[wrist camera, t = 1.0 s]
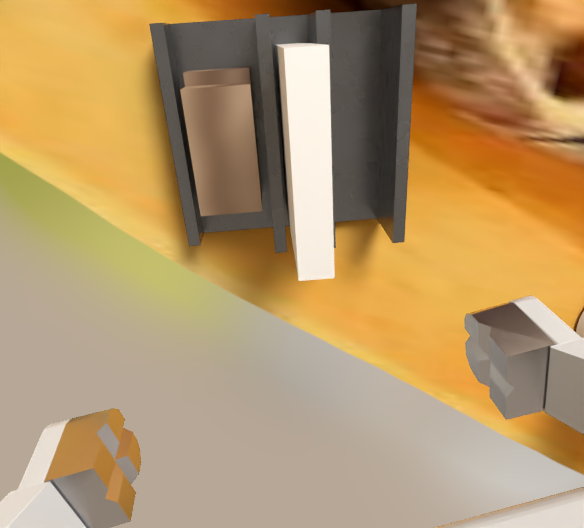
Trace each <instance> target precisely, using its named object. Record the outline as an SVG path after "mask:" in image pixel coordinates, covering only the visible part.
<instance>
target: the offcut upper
mask: <svg viewBox="0 0 584 528" xmlns="http://www.w3.org/2000/svg"><path fill="white" fill-rule="evenodd" d="M180 91H181V98H182V104H183V110H184V116H185V122H186V128H187V135H188V141H189V147H190V153H191V159H192V166H193V172H194V178H195V184H196V190H197V196H198V203H199V209H200V215H201V216H210V215H222V214H235V213H247V212H259V211H262V194H261V184H260V173H259V163H258V153H257V142H256V132H255V121H254V111H253V101H252V90H251V82H242V83H228V84H214V85H201V86H187V87H184V88H182V89H181V90H180Z"/></svg>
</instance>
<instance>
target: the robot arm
mask: <svg viewBox="0 0 584 528" xmlns="http://www.w3.org/2000/svg"><path fill="white" fill-rule="evenodd" d="M465 329H466V330H467V332H468V333H469V334H470V337H469V338H468V340H467V341H466V343H465V345H466V355H467V358H468V362H469V365H470V367H471V369H472V371H473V373H474V375H475V376H476V378H477V379H478V381H479V382H480V383H482V384H484V385H486V386H489V387H490V398H491V399H492V401H493V402H494V403H495V405H496V406H497V408H498V409H499V410H500V412H501V413H502V415H503V416H504V417H505V419H506V420H507V419H511V418H515V417H519V416H523V415H527V414H532V413H536V412H540V411H544V410H545V413H547V414H549V415H550V416H552V417H554V418H556V419H557V420H559V421H561V422H563V423H565V424H566V425H568V426H570V427H572V428H573V429H575V430H577V431H579V432H580V433H582V434H584V311H583V313H582V315H581V317H580V319H579V322H578V325H577V329H576V332H575V331H573V330H572V329H571V328H570V327H569V326H568V325H567V324H566V323H564V322H563V321H562V320H561V319H560V318H559V317H558V316H556V315H555V314H554V313H553V312H552V311H551V310H550V309H548V308H547V307H546V306H545V305H544V304H543V303H542V302H540V301H539V300H538V299H537V298H536V297H533V296H527V297H523V298H520V299H516V300H513V301H509V302H508V303H504V304H500V305H496V306H493V307H489V308H486V309H482V310H478V311H475V312H471V313H467V314H466V316H465ZM124 421H125V419H124V417H123V415H122V414H121V412H120V411H119V410H118V409H109V410H104V411H100V412H96V413H92V414H88V415H84V416H80V417H76V418H72V419H70V420H65V421H61V422H57V423H53V424H49V425H48V426H47V427H46V428H45V429H44V430H43V432H42V435H41V437H40V439H39V442H38V444H37V446H36V448H35V451H34V453H33V455H32V458H31V460H30V462H29V465H28V467H27V469H26V471H25V474H24V476H23V478H22V481H21V483H20V485H19V488H18V490H15V491H12V492H10V493H9V494H8V495H7V496H6V497H5V498H4V499H3V500H2V501H1V502H0V528H109V527H113V526H116V525H120V524H123V523H126V522H130V521H131V516H132V511H133V505H134V499H135V494H136V492H135V490H134V489H133V487H132V486H131V484H132V483H133V481H134V480H135V479H136V477H137V476H138V475H139V472H140V465H141V457H140V448H139V444H138V441H137V439H136V437H135V436H134V434H133V432H131V431H129V430H127V429H125V428H123V425H124ZM435 528H584V487H581V488H578V489H574V490H570V491H567V492H563V493H560V494H556V495H552V496H549V497H545V498H541V499H538V500H534V501H530V502H526V503H523V504H519V505H515V506H512V507H508V508H505V509H501V510H497V511H493V512H490V513H486V514H482V515H479V516H475V517H472V518H468V519H464V520H461V521H457V522H453V523H450V524H446V525H442V526H439V527H435Z"/></svg>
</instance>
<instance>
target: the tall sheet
mask: <svg viewBox="0 0 584 528" xmlns="http://www.w3.org/2000/svg"><path fill="white" fill-rule="evenodd" d="M275 55H276V69H277V83H278V97H279V111H280V125H281V139H282V153H283V167H284V181H285V195H286V207H287V213H288V219H289V226H290V232H291V238H292V244H293V250H294V256H295V262H296V268H297V274H298V280H299V281H305V280H316V279H328V278H335V277H334V234H333V191H332V148H331V104H330V61H329V45H324V44H313V43H292V44H278V45H275Z"/></svg>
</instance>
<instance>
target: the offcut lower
mask: <svg viewBox="0 0 584 528" xmlns="http://www.w3.org/2000/svg"><path fill="white" fill-rule="evenodd" d="M183 76H184V83H185V87H187V86H201V85H214V84H228V83H242V82H251V72H250V67H236V68H222V69H208V70H194V71H186V72H184V73H183ZM251 90H252V83H251ZM252 101H253V93H252ZM253 111H254V104H253ZM254 121H255V114H254ZM255 132H256V125H255ZM256 142H257V135H256ZM257 153H258V146H257ZM258 163H259V156H258ZM259 173H260V167H259ZM260 184H261V177H260ZM261 194H262V188H261Z"/></svg>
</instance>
